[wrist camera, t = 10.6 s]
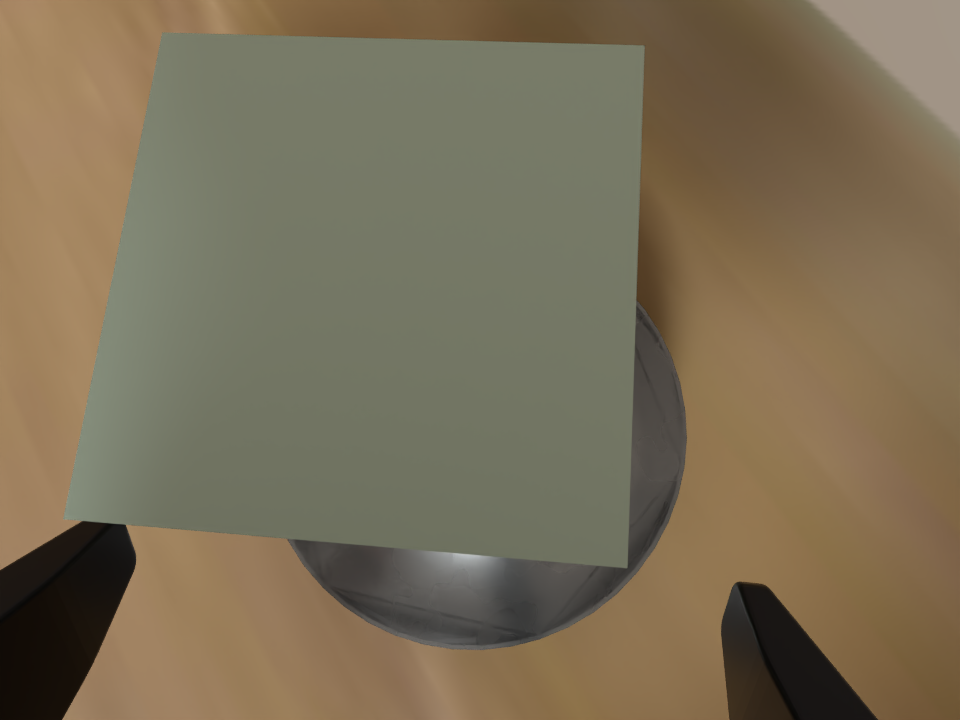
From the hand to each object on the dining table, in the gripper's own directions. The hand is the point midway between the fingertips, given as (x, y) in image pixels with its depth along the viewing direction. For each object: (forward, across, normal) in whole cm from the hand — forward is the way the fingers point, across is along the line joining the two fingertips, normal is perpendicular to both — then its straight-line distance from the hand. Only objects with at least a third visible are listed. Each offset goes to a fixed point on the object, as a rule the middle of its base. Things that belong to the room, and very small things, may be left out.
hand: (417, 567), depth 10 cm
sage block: (+8, 0, +3) cm, 8 cm away
